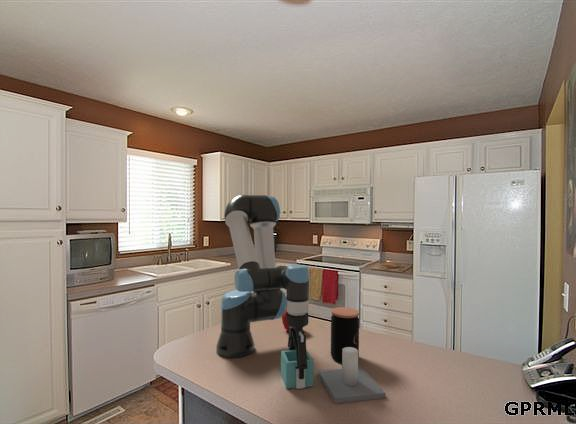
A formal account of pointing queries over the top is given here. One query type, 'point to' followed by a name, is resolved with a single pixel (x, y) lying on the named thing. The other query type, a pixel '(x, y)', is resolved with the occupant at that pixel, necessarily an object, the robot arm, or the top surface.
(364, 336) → the top surface
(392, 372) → the top surface
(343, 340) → the coffee jar
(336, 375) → the grey square base plate
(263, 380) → the top surface
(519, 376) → the top surface
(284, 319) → the apple
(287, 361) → the teal storage bin
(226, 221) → the robot arm
